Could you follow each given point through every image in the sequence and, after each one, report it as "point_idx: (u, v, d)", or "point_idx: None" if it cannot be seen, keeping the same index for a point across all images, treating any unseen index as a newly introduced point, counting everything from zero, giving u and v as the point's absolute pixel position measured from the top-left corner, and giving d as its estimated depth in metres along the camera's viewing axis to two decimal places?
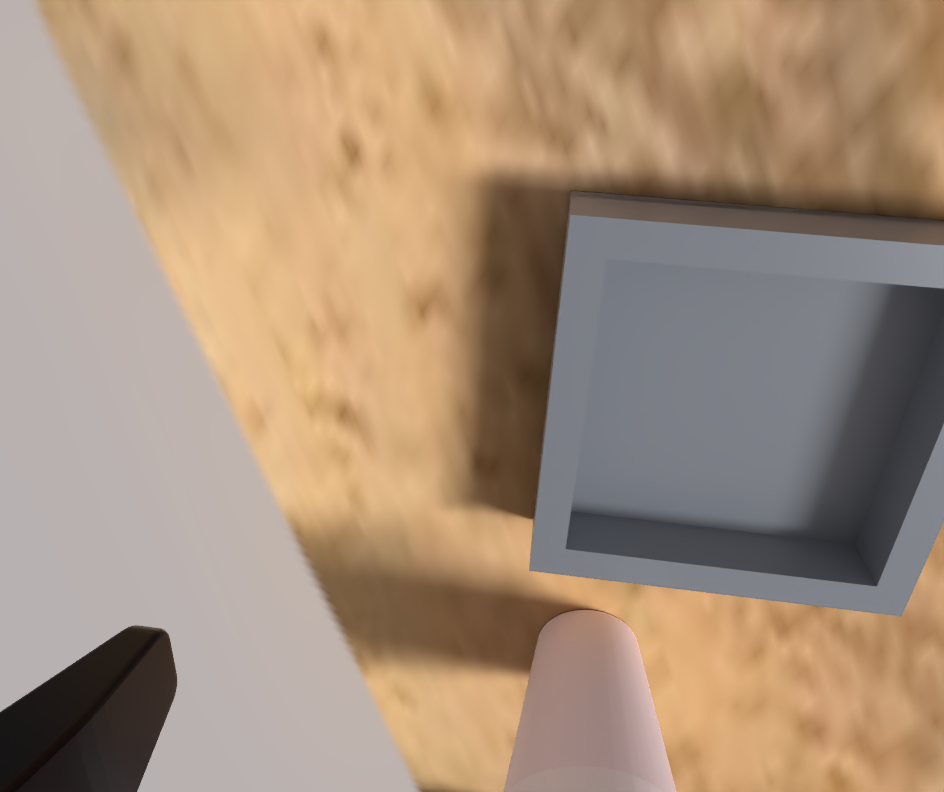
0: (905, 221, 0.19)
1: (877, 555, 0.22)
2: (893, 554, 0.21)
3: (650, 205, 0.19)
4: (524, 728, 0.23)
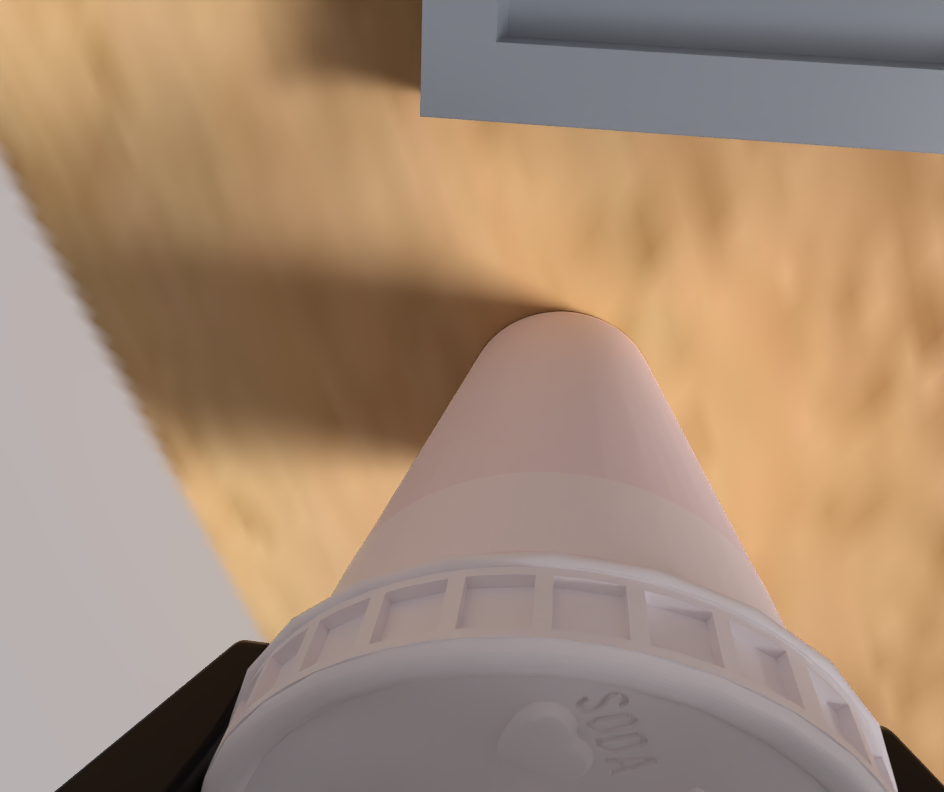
0: None
1: None
2: None
3: None
4: (410, 468, 0.11)
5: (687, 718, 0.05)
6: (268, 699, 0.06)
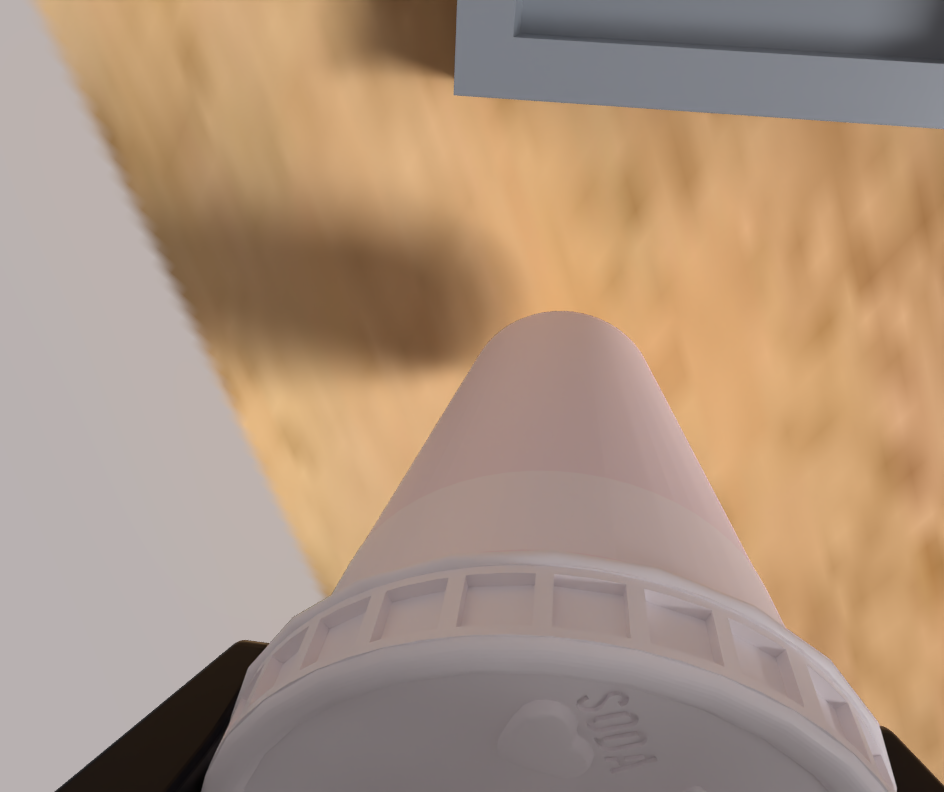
0: None
1: None
2: None
3: None
4: None
5: (687, 716, 0.05)
6: (268, 697, 0.06)
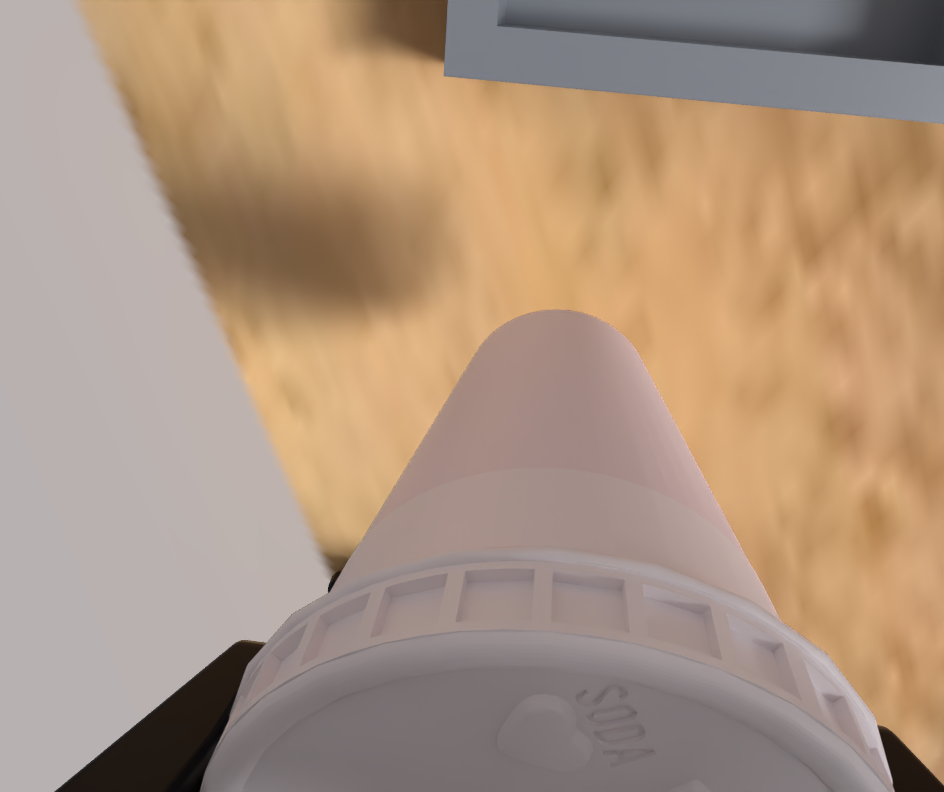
0: None
1: None
2: None
3: None
4: None
5: (686, 710, 0.05)
6: (269, 694, 0.06)
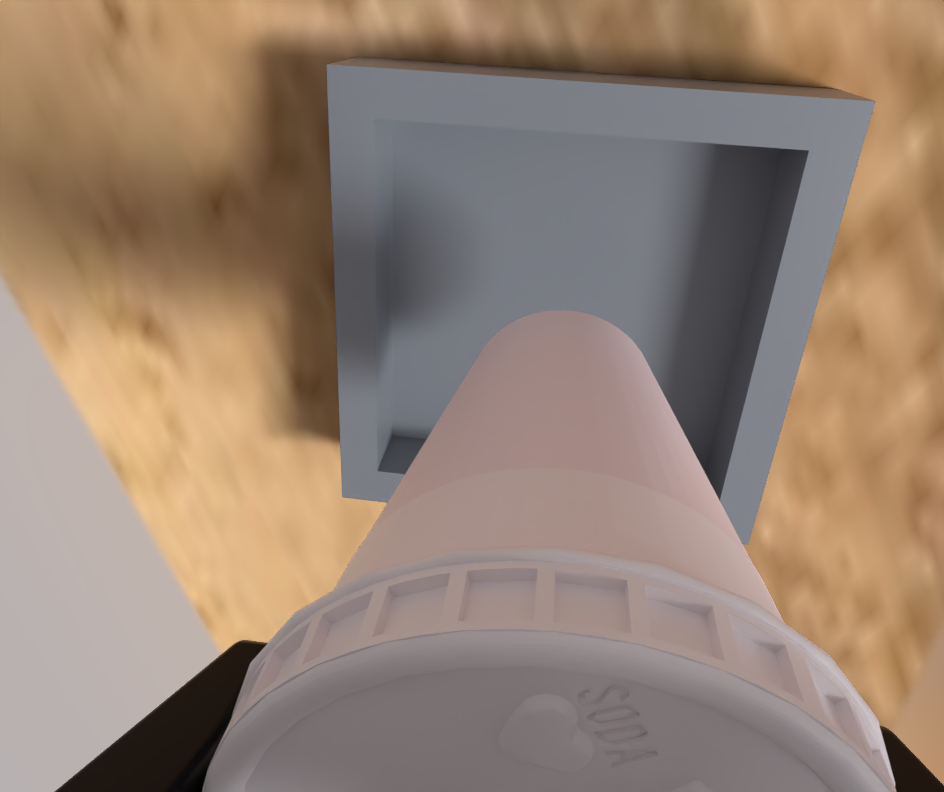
0: (721, 82, 0.17)
1: (719, 475, 0.20)
2: (730, 471, 0.19)
3: (434, 65, 0.17)
4: (411, 464, 0.11)
5: (687, 710, 0.05)
6: (271, 691, 0.06)
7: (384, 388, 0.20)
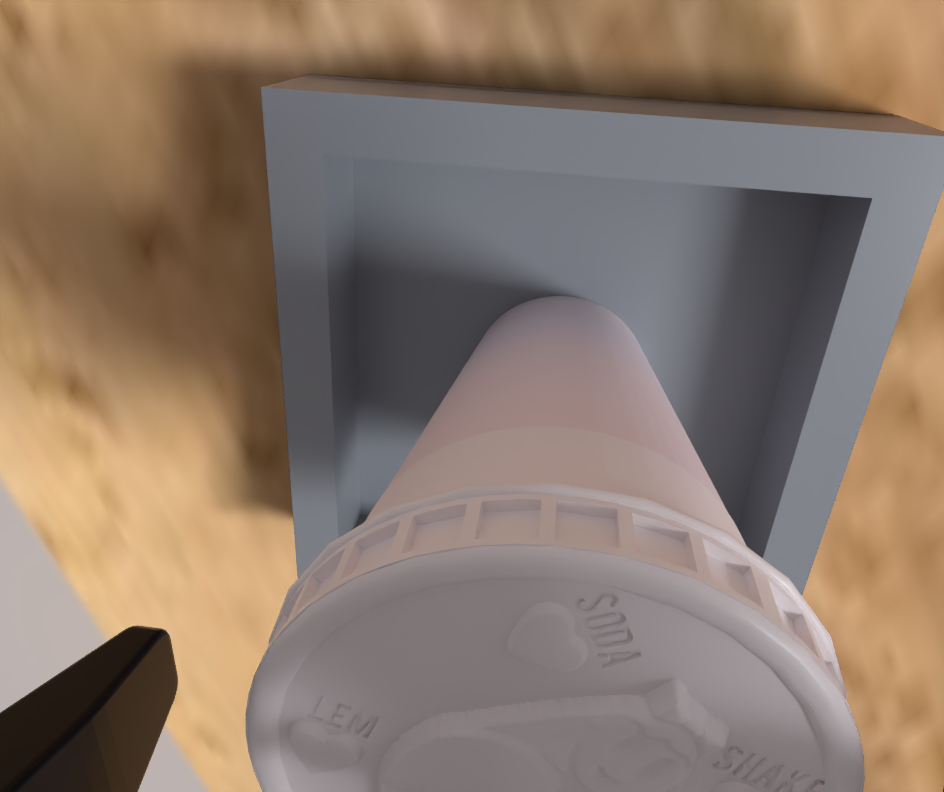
0: (756, 108, 0.13)
1: None
2: None
3: (400, 86, 0.13)
4: None
5: (666, 615, 0.06)
6: (314, 602, 0.07)
7: (347, 467, 0.17)
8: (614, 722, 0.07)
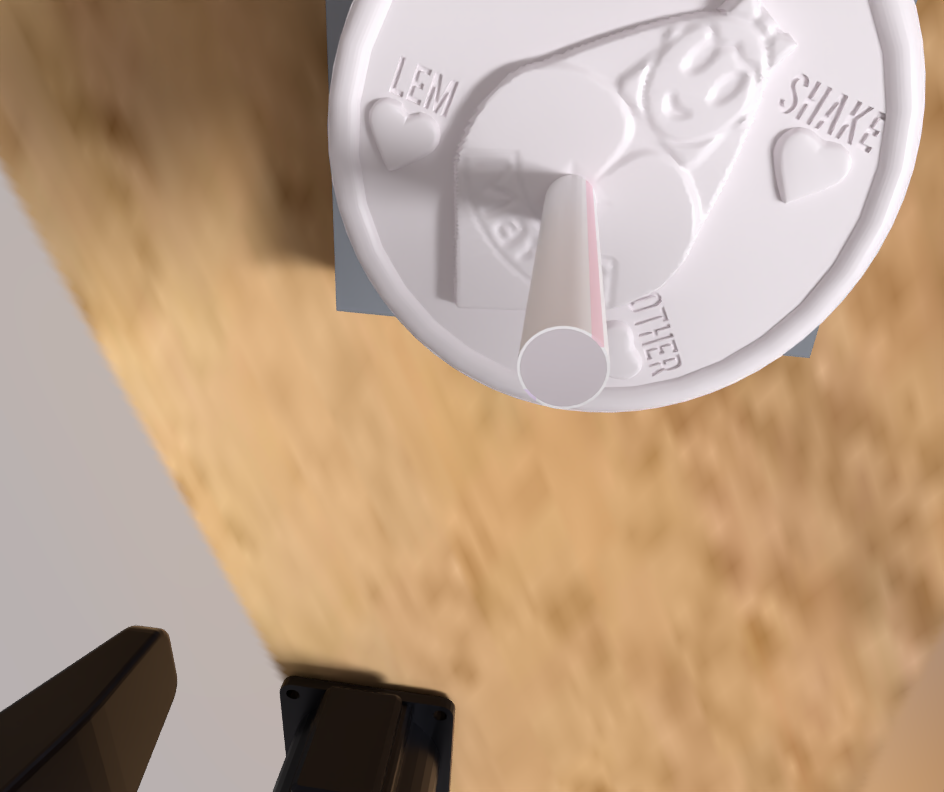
0: None
1: None
2: None
3: None
4: None
5: None
6: None
7: None
8: (689, 29, 0.07)
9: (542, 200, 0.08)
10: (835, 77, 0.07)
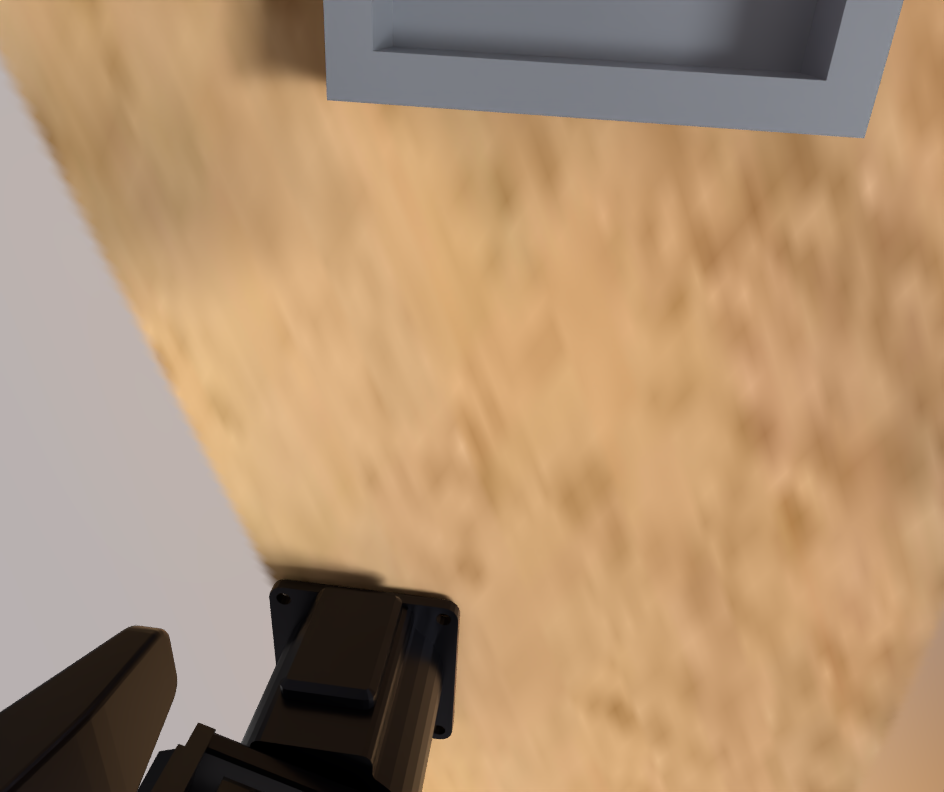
0: None
1: (827, 39, 0.15)
2: (848, 10, 0.14)
3: None
4: None
5: None
6: None
7: None
8: None
9: None
10: None
